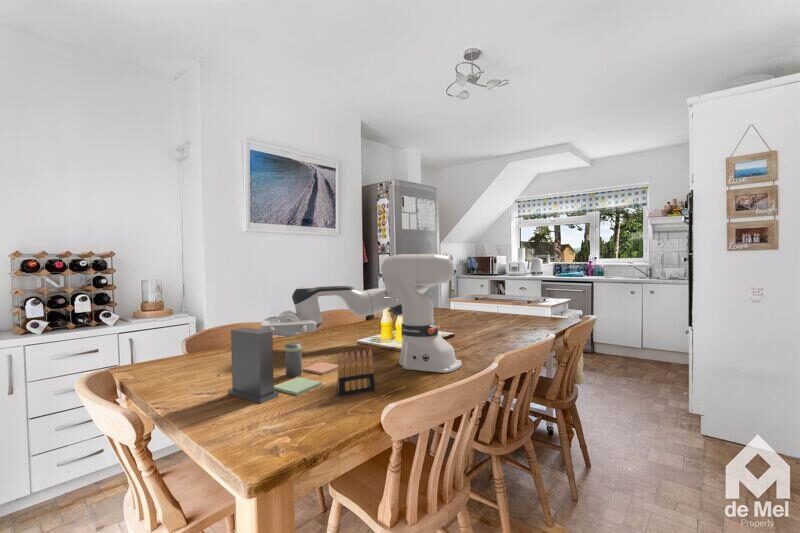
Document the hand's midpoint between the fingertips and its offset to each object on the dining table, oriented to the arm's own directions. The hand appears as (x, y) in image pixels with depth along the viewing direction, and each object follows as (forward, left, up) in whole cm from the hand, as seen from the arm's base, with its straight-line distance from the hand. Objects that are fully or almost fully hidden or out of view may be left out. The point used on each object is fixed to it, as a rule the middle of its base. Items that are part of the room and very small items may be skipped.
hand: (289, 331), depth 138 cm
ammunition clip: (-38, +11, -12) cm, 41 cm away
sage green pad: (-20, +16, -12) cm, 28 cm away
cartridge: (-10, +8, -12) cm, 17 cm away
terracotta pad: (-14, -1, -12) cm, 19 cm away
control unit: (-14, +27, -12) cm, 32 cm away
